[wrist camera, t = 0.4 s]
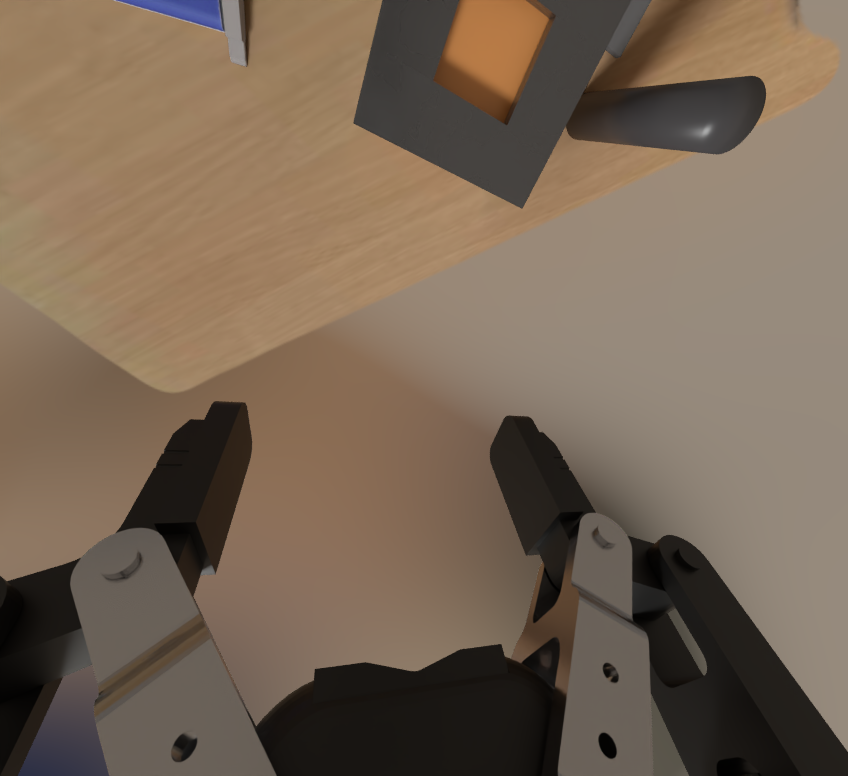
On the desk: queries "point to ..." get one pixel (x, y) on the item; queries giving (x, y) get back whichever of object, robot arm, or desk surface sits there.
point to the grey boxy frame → (465, 123)
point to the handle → (672, 115)
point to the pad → (627, 27)
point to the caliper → (235, 30)
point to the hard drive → (186, 10)
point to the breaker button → (490, 52)
